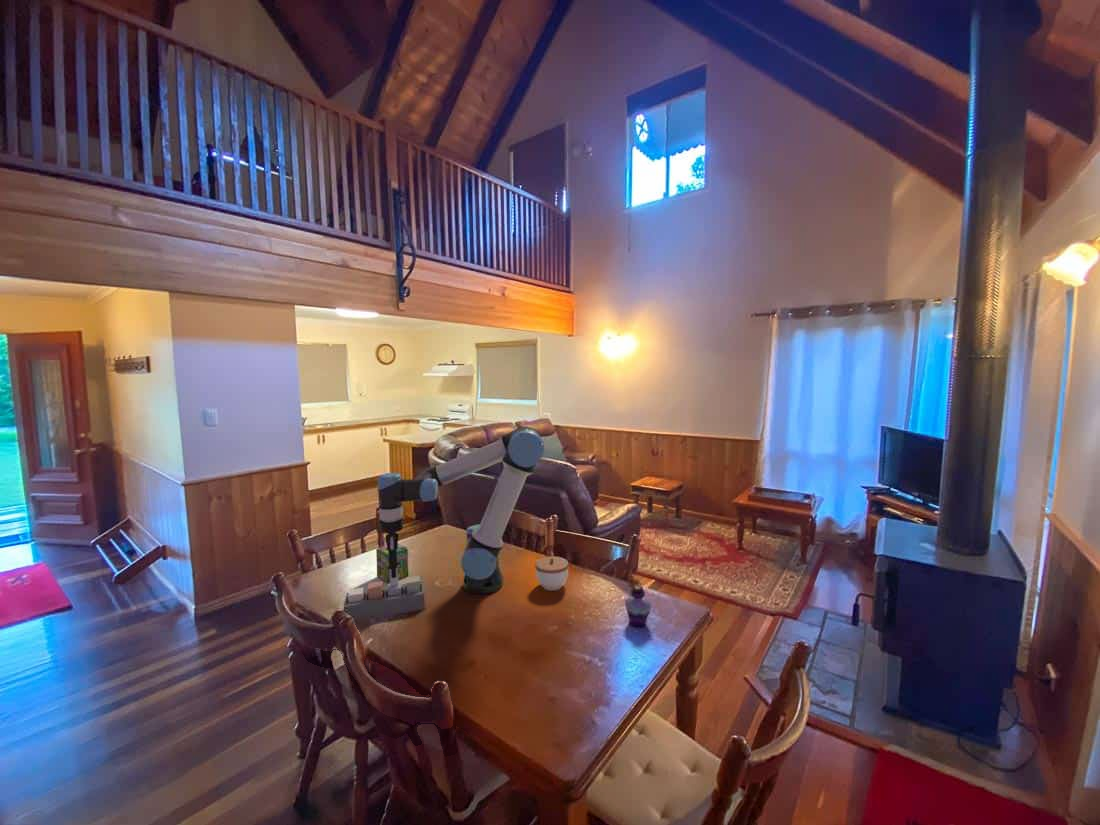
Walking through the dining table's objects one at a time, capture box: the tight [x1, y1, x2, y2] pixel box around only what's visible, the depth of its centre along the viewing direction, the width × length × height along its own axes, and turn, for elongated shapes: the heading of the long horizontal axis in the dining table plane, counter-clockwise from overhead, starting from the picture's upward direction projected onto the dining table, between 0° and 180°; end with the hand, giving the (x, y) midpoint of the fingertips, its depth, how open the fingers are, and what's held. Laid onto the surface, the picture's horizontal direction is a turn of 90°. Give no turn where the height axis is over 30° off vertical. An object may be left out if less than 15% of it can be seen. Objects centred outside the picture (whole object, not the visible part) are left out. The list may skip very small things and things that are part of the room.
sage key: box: [405, 575, 421, 594], centre depth 160 cm, size 4×4×5 cm
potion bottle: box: [624, 585, 652, 629], centre depth 146 cm, size 9×9×12 cm
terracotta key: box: [367, 580, 384, 600], centre depth 156 cm, size 4×4×5 cm
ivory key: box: [348, 587, 364, 603], centre depth 155 cm, size 4×4×5 cm
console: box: [343, 580, 426, 622], centre depth 158 cm, size 25×10×6 cm, turn 108°
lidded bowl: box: [534, 556, 570, 592], centre depth 172 cm, size 13×13×11 cm
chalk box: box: [376, 543, 410, 584], centre depth 182 cm, size 9×9×15 cm
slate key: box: [387, 581, 402, 597], centre depth 158 cm, size 4×4×5 cm
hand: (394, 585), depth 158 cm, fingers closed
